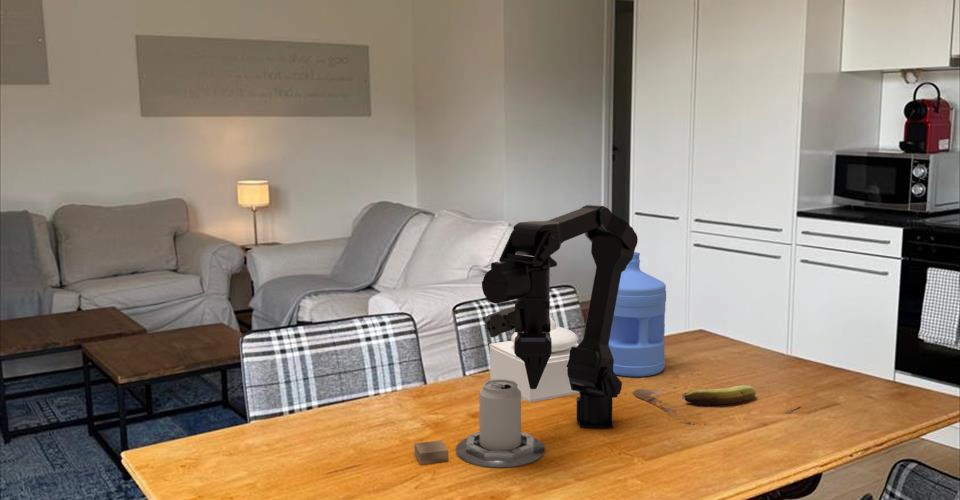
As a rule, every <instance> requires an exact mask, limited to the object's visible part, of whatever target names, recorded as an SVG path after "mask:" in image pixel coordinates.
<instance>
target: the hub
mask: <svg viewBox="0 0 960 500" xmlns="http://www.w3.org/2000/svg"><path fill="white" fill-rule="evenodd" d="M545 451H546V448H545V445H544V443H543V442H541V440H539V439H537V438H535V436H534V435H532V434H529V433H527V432H523V431H521V445H520V446H519V447H518V448H516V449H514V450H511V451H488V450H485V449H484V448H483V447H482V446H481V445H480V431H478V432H475V433H470V434H468V436H467V437H466V438H464V439H463V440H461V441H459V442H458V443H457V444H456V446H455V454H456V455H457V457H458V458H459V459H461V460H462V461H464V462H465V463H468V464H471V465H475V466H478V467H483V468H491V469H509V468H517V467H523V466H526V465H527V466H528V465H530V464H532V463H535V462H537V461H539V460H540V459H541V458H543V456H544V455H545V453H546V452H545Z"/></svg>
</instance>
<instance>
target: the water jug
mask: <svg viewBox="0 0 960 500" xmlns="http://www.w3.org/2000/svg"><path fill="white" fill-rule="evenodd" d="M640 255H641V253H640V252H635V251H634V255H633V258H632V260H631V261H630V263H629V264H628V265H627V266H626V267H625V269H624V270H623V271H622V273H621V278H620V283H619V289H618V294H617V300H616V305H615V311H614V316H613V322H612V327H611V333H610V338H609V348H610V351H611V353H612V356H613V359H614V365H613V372H614V373H615V374H616V376H621V377H630V378H633V377H634V378H639V377H643V378H644V377H651V376H654V375H658V374H660V373H662V372H663V371H664V370H665V367H666V359H665V348H666V347H665V333H666V332H665V330H666V329H665V326H666V323H665V317H666V316H665V315H666V302H667V290H666V289H667V285H666V282H664V281H662V280H660V279H658V278H656V277H654V276H652V275H650V274H648V273H646V272H644V271H642V270H641V268H640V263H641V260H640Z"/></svg>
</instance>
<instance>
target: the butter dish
mask: <svg viewBox="0 0 960 500" xmlns="http://www.w3.org/2000/svg"><path fill="white" fill-rule="evenodd" d="M550 323H551V327H550V337H551V342H552V354H551V356H550V358H549V360H548V362H547V365H546V367H545V369H544V372H543V374H542V376H541V379H540V381H539V384H538V386H537V388H536V389H530V386H529V382H528V377H527V372H526V368H525V364H524V361H523V360H521V359H520V358H519V357H517V356H516V355H515V354H514V342H515V337H516V336H517V333H518V332H515V331H514V333H512V335H511V337H510V340H507V341H500V342H493V343H489V344H488V345H489V346H488V347H489V366H490V367H489V373H490V374H489V377H490V379H489V380H493V379H507V380H512V381H514V382H516V383H517V384H518V386H517V388H518V389H519V390H520V391H521V400H524V401H526V402H527V403H534V402H539V401H544V400H549V399H551V400H552V399H555V398H556V399H557V398H560V397H567V396H571V395H576V394H579V392H578V391H573V390H571V386H570V381H569V377H568V375H567V369H568V367H566V366H567V364H568V361H569V355H570V350H571V348H572V347H577V346H578V345H579V344H580V343H578V340H579V339H578V335H577V334H576V333H575V332H573V331H572V330H570V329H567V328H565V327H561V326H557V324H556V322H555V321H554V319H552V318H551V317H550Z"/></svg>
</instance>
